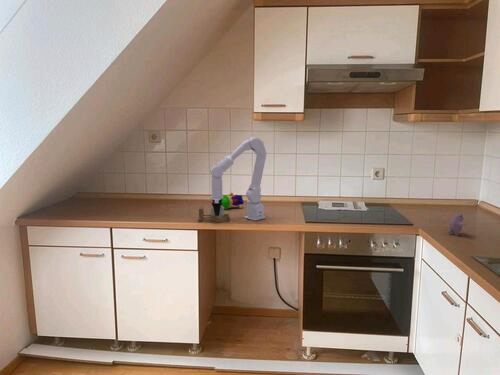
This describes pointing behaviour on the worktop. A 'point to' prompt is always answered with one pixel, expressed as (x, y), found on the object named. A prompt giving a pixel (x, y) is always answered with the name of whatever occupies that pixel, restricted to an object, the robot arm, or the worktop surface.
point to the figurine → (456, 224)
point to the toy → (232, 201)
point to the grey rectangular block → (220, 211)
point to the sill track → (210, 218)
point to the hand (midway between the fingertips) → (217, 213)
